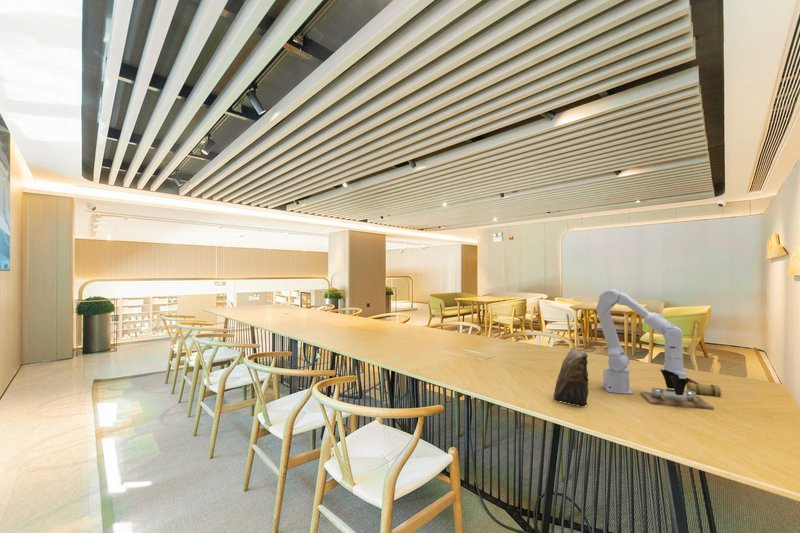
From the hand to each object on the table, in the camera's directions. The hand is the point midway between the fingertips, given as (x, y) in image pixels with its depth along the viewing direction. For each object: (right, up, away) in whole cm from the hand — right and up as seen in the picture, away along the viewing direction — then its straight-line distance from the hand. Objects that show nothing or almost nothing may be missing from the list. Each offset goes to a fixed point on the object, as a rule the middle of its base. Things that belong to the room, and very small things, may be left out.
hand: (674, 391), depth 135 cm
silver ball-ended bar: (0, -3, 0) cm, 3 cm away
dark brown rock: (-40, -5, +3) cm, 40 cm away
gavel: (+21, -5, +15) cm, 26 cm away
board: (0, -4, 0) cm, 4 cm away
